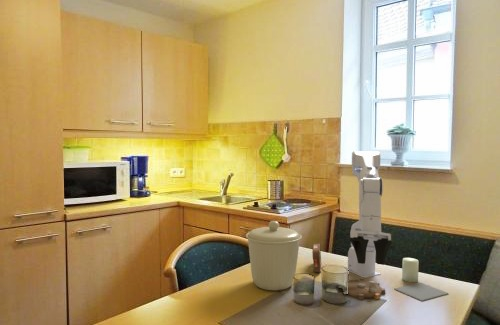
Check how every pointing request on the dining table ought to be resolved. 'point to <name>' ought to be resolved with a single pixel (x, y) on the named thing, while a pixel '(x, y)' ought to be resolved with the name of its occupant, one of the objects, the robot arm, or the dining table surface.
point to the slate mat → (421, 291)
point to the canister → (273, 256)
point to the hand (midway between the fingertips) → (371, 264)
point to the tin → (316, 258)
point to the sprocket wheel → (365, 289)
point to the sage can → (410, 269)
